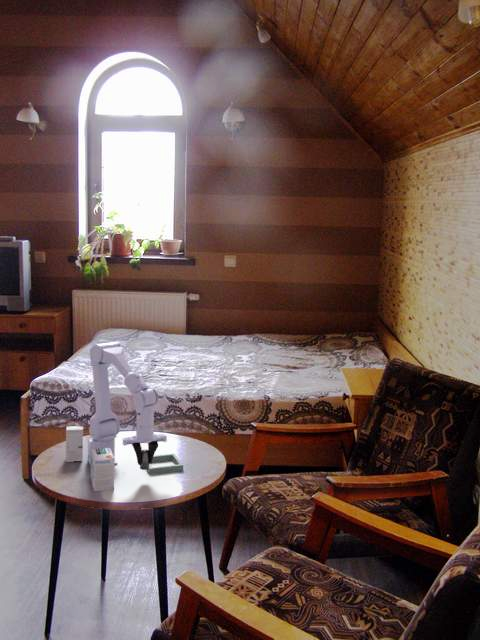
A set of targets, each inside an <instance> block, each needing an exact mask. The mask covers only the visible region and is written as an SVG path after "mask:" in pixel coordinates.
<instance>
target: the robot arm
mask: <svg viewBox="0 0 480 640" xmlns="http://www.w3.org/2000/svg"><path fill="white" fill-rule="evenodd" d="M89 358H90V360H89V361H90V366H91V367H92V377H93V378H92V379H93V390H94V401H95V413H94V414H93V415H92V416H91V417H90V418H89V426H88V432H89V435H90V438H91V439H88V441H87V462H88V464H89V466H90V467H91V449H102V448H110V449H111V451H112V454H113V456H114V465H117V464H118V461H117V459H116V457H115V456H116V455H115V452H116V451H115V450H116V449H115V446H116V444H115V443H116V441H115V440H116V439H115V438H117V435H118V434H119V433H120V430H121V427H120V423H119V419H118V415H117V414H116V413H115V412H113V411H112V405H111V404H112V403H111V396H110V395H111V394H110V381H109V380H110V379H109V371H108V370H109V369H108V368H109V367H110V366H111V365H113V366H114V368H116V370H117V371H118V372H119V373H120V375H121V376H122V377H123V378H124V381H123V384H124V385H125V386H126V388H127V389H128V391H129V392H130V393H131V395H132V402H133V404H134V411H135V412H136V425H135V426H136V429H135V430H136V434H135V435H134V436H127V437H123V438H122V446H128V445H132V447H133V450H134V453H135V456H136V459H137V464H138V466H140V465H141V450H143V448H142V445H141V444H147V445H148V449H147V450H149V464H150V465H151V464H152V463H153V462H152V459H153V456H155V453H156V450H157V449H158V448H159V442H160V443H161V442H163V443H166V442H167V438H168V437H167V434H155V433H154V432H155V431H154V430H155V428H154V427H155V425H154V424H155V423H154V421H155V419H154V418H155V417H154V416H155V405H157V403H158V400H159V396H158V393H157V391H156V389H155V387H151V386H149V385H147V383H146V382H145V381H144V380H143V378H142V377H141V375H140V374H139V372H134V371H133V370H132V368H131V366H130V364H129V363H128V361H127V359H126V357H125V356H124V348H123V347H122V345H121V343H120V342H119V341H111V342H103V343H94V344H93V345H92V346H91V348H90V349H89Z"/></svg>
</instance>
